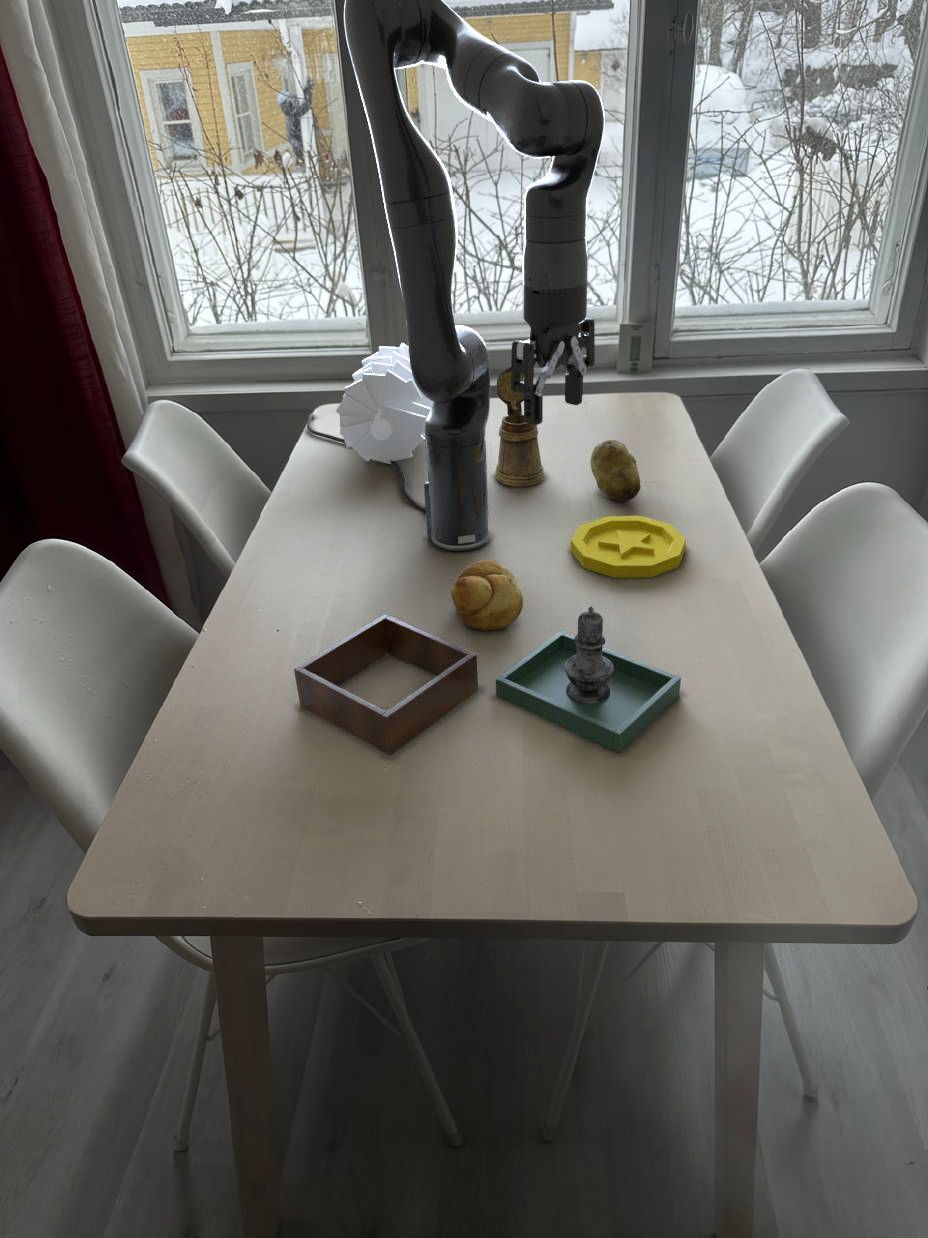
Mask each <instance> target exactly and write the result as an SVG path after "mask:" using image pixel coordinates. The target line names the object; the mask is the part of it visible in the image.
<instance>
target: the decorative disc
mask: <svg viewBox="0 0 928 1238" xmlns="http://www.w3.org/2000/svg"><path fill="white" fill-rule="evenodd" d="M686 545H687V538H686V537H685V536H684V535H682V534H681V532H679V531H678V529H676V528H675V527H674V525H673V524H671V523H668V522H664V521H661V520H657V519H654V518H650V517H647V516H642V515H609V516H607V515H606V516H603V517H601V518H598V519H595V520H592V521H589V522H586V523H584V524H583V523H582V524H580V525H579V527H578V528H577V530H576V532H575V533H574V535H573V536H572V538H571V540H570V552H571V554H572V555H573V557H574V558H575V559H576V560H577V562H578V563H579V564H580V566H581V567H582V568H583V569H587V570H590V571H593V572H596V573H599V574H601V575H604V576H608V577H611V578H614V579H615V578H616V579H617V578H619V579H620V578H631V579H632V578H654V577H655V576H659V575H661V574H664V573H666V572H669V571H671V570H674V569H677V568H679V566H680V565H681V562H682V559H683V557H684V554H685V552H686Z"/></svg>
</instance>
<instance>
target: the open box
mask: <svg viewBox="0 0 928 1238" xmlns="http://www.w3.org/2000/svg"><path fill="white" fill-rule="evenodd" d="M388 654H389V655H391V656H393V657H395V658H398V659H399V660H401V661H404V662H406V663H407V664H408V663H409V664H410V665H413V666H415V667H417V668H420V669H421V670H424V671H426V672H427V673H429V674H431V675H434V676H435V677H434V678H433V679H431V680H430V681H429V682H427V683H426V684H424V685H422V686H421V687H420V688H418V689H417V690H416V691H414V692H413V693H411V694H410V695H409V696H407V697H405V698H404V699H403V700H401V701H399V702H398V703H397V704H396V705H394V706H392V707H391V708H389V709H388V710H387V711H385V710H384V709H382V708H380V707H378V706H377V705H374V704H373V703H370V702H368V701H367V700H364V699H362V698H361V697H359V696H357V695H355V694H353V693H351V692H349V691H347V690H346V689H343V688H342V687H340V685H342V684H344V683H345V682H346V681H348V680H350V679H352V678H353V677H355V676H356V675H358V674H359V673H361V672H363V671H364V670H365V669H367V668H369V667H370V666H372V665H373V664H375V663H377V662H378V661H379V660H382V658H384V657H385V656H387V655H388ZM293 672H294V673H293V674H294V678H295V683H296V690H297V695H298V696H297V697H298V702H299V706H300V707H302V708H303V709H305V710H307V711H309V712H311V713H313V714H315V715H317V716H318V717H320V718H322V719H324V720H325V721H327V722H329V723H331V724H333V725H335V726H336V727H338V728H340V729H341V730H344V731H345V732H347V733H349V734H351V735H353V736H354V737H356V738H358V739H359V740H361V741H363V742H365V743H366V744H369V745H371V746H372V747H374V748H376V749H378V750H379V751H381V752H383V753H385V754H387V755H388V756H390V757H391V756H393V755H394V754H395V753H397V752H398V751H400V750H401V749H402V748H403V747H405V746H406V745H408V744H409V743H410V742H412V741H413V740H414V739H416V738H417V737H418V736H420V735H422V733H424V732H425V731H426V730H428V729H429V728H431V727H432V726H433V725H434V724H436V723H438V722H439V721H440V720H441V719H443V718H444V717H445V716H447V715H448V714H449V713H450V712H452V711H453V710H455V709H456V708H457V707H459V706H461V704H463V703H464V702H465V701H467V700H468V699H469V698H471V697H472V696H473V695H475V694H476V693H477V692H479V673H478V653H476V652H473V651H470V650H468V649H466V648H463V647H461V646H460V645H457V644H455V643H452V642H450V641H447V640H445V639H443V638H441V637H439V636H437V635H434V634H432V633H429V632H427V631H425V630H422V629H421V628H417V627H415V626H414V625H411V624H410V623H409V624H408V623H406V622H404V621H403V620H400V619H398V618H396V617H392V616H390V615H388V614H383V615H380V616H379V617H377V618H376V619H375V620H373V621H371V622H370V623H368V624H366V625H365V626H363V627H361V628H360V629H358V630H356V631H355V632H352V633H351V634H350V635H348V636H346V637H345V638H343V639H341V640H339V641H338V642H337V643H334V644H333V645H332V646H330V647H328V648H326V649H324V650H322V651H321V652H320V653H318V654H316V655H314V656H313V657H311V658H309V659H308V660H306V661H305V662H303V663H301V664H300V665H298V666H296V667H295V668H293Z"/></svg>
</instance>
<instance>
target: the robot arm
mask: <svg viewBox="0 0 928 1238" xmlns="http://www.w3.org/2000/svg"><path fill="white" fill-rule="evenodd" d="M343 8H344V9H343V25H344V32H345V39H346V43H347V48H348V52H349V55H350V56H349V57H350V59H351V64H352V67H353V71H354V75H355V79H356V82H357V85H358V89H359V93H360V97H361V100H362V103H363V107H364V112H365V114H366V118H367V122H368V127H369V130H370V134H371V139H372V145H373V149H374V154H375V158H376V159H375V160H376V164H377V169H378V174H379V175H378V176H379V179H380V185H381V186H380V187H381V192H382V199H383V203H384V210H385V214H386V215H385V216H386V220H387V224H388V230H389V235H390V238H391V243H392V248H393V251H394V257H395V258H394V259H395V263H396V268H397V273H398V274H397V275H398V279H399V285H400V290H401V296H402V301H403V306H404V307H403V308H404V316H405V324H406V325H405V326H406V335H407V344H408V345H407V346H408V348H409V359H410V366H411V371H412V375H413V378H414V381H415V383H416V385H417V387H418V389H419V390H420V391H421V393H422V394H423V395H424V396H425V397H426V398H428V399H429V400H431V401H433V406H432V409H431V411H430V413H429V415H428V417H427V419H426V422H425V433H424V438H425V440H424V441H425V455H426V468H427V481H426V482H424V484H423V492H424V493H423V494H424V506H423V505H421V504H419V503H418V502H417V501H416V500H415V499H414V498H413V497H412V496H411V495H410V493H409V492H408V481H407V477H406V475H405V472H404V470H403V469H402V467H401V465H399V463H398V462H397V461H392V460H391V461H390V462H391V463H392V464H391V465H393V467H394V468H395V469H396V470H397V472H398V473H399V475H400V477H401V480H402V492H403V496H404V498H405V499H406V500H407V501H408V503H410V504H411V505H412V506H413V507H415V508H416V509H418V510H420V511H422V512H424V513H425V520H426V521H425V523H426V536H427V539H430V540H431V542H432V544H433V545H434V546H436V547H437V548H439V549H442V550H444V551H449V552H466V551H467V552H468V551H472V550H476V549H478V548H481V547H483V546H485V545H486V544H487V543H488V542H489V540H490V537H491V536H490V529H489V528H490V527H489V495H488V492H489V491H488V464H487V461H488V460H487V440H486V439H487V436H486V433H487V432H486V429H487V423H488V420H489V416H490V412H491V411H490V410H491V361H490V355H489V351H488V348H487V345H486V342H485V341H484V340H483V338H482V337H481V335H480V334H479V333H478V332H477V331H476V330H474V329H473V328H470V327H469V326H465V325H456V321H455V316H454V310H453V302H452V301H453V300H452V291H453V289H452V287H453V278H454V271H455V265H456V264H455V263H456V256H457V248H458V247H457V246H458V222H457V221H458V219H457V213H456V207H455V201H454V195H453V189H452V188H453V187H452V183H451V179H450V176H449V174H448V172H447V169H446V168H445V165H444V164H443V162H442V161H441V159H440V158H439V156H438V155H437V154H436V152H435V151H434V149H433V148H432V147H431V145H430V144H429V142H428V141H427V140H426V139H425V138H424V136H423V135H422V134H421V132H420V131H419V130H418V128H417V127H416V125H415V124H414V122H413V121H412V119H411V117H410V115H409V113H408V111H407V109H406V107H405V103H404V100H403V97H402V94H401V90H400V87H399V83H398V79H397V75H396V70H398V69H404V68H411V67H412V68H413V67H415V66H418V65H420V64H427V65H433V66H435V67H439V68H442V69H444V70H445V71H446V75H447V81H448V83H449V86H450V88H451V90H452V91H453V94H454V95H455V96H456V98H458V100H459V101H460V102H461V103H463V104H464V105H465V106H466V107H468V108H469V109H471V110H472V111H474V112H475V113H477V114H479V115H480V116H482V117H483V118H485V119H487V120H488V121H490V122H492V123H493V124H494V125H495V127H496V129H497V131H498V132H499V133H500V134H501V136H502V137H503V138H504V139H505V141H506V143H507V144H508V145H509V146H510V147H511V148H512V149H513V150H514V151H516V152H517V153H519V154H521V155H523V156H526V157H529V158H534V159H544V158H552V161H551V163H550V167H549V170H548V173H547V174H546V175H545V176H544V177H543V178H541V179H539V180H537V181H535V182H533V183H531V184H530V185H529V186H528V187H527V189H526V191H525V194H524V210H523V211H524V214H523V217H524V222H523V223H524V245H523V253H522V317H523V320H524V322H525V323H527V325H528V326H529V328H530V331H529V336H528V339H527V340H523V341H522V340H514V341H512V344H511V359H510V360H511V361H510V362H511V366H510V367H511V390H512V391H514V392H519V393H523V395H524V401H523V415H524V418H525V421H526V422H527V423H530V424H534V425H537V426H539V425H541V424H542V423H543V413H544V412H543V410H544V409H543V407H544V404H543V403H544V402H543V400H544V399H543V398H544V394H542V392H543V390H544V387H545V385H546V382H547V381H548V380H549V379H551V378H552V377H553V373H554V372H555V370H556V369H558V368H559V367H560V366H562V367H563V368H564V370H565V372H566V374H564V402H565V403H566V404H569V405H572V406H579V405H581V404H582V402H583V395H584V390H583V389H584V376H585V375H586V373H587V369H588V367H590V368H591V367H593V366H594V365H595V362H596V361H595V360H596V353H595V352H596V348H595V347H596V344H595V343H596V342H595V339H596V337H595V334H596V332H595V328H596V327H595V324H596V323H595V322H596V321H595V320H594V318H588V317H587V307H588V269H589V256H588V246H587V222H588V221H587V219H588V218H587V217H588V216H587V215H588V196H589V193H590V189H591V186H592V183H593V179H594V174H595V170H596V167H597V163H598V159H599V156H600V151H601V147H602V143H603V138H604V134H605V133H604V132H605V111H604V106H603V102H602V99H601V96H600V94H599V93H598V90H597V89H596V88H595V86H594V85H592V84H591V83H589V82H588V81H585V80H579V79H575V80H564V81H550V82H541V79H540V76H539V73H538V71H537V70H536V69H535V68H534V66H533V65H532V64H531V63H530V62H528V61H527V60H526V59H524V58H523V57H521V56H519V55H518V54H516V53H514V52H512V51H510V50H508V49H506V48H505V47H503V46H501V45H499V44H497V43H496V42H494V41H492V40H490V39H489V38H487V37H485V36H484V35H482V34H481V33H480V32H478V31H477V30H476V29H475V28H473V27H472V26H471V25H469V24H468V23H467V22H466V21H465V20H464V19H463V18H462V17H461V16H460V15H459V14H458V13H457V12H456V11H455V10H453V9H452V8H451V7H450V6H449V5H448V3H446V2H445V1H444V0H344V5H343ZM583 348H584V349H585V351H586V353H585V354H586V355H585V354H583V350H582V349H583ZM536 364H537V365H538V366H539V367H537V366H536ZM520 373H522V374H524V378H523V381H522V382H520ZM535 377H537V378H536V381H535V384H534V378H535ZM314 419H315V414H314V413H310V414H309V415H308V418H307V421H306V427H307V430H308V432H310V433H311V434H313V435H315V436H318V437H322V438H325V439H329V440H332V441H336V442H339V443H342V444H346V443H345V441H344V438H343V437H342V438H341V437H338V436H335V435H331V434H329V433H324V432H321V431H317V430H315V429H313V428H312V420H314Z"/></svg>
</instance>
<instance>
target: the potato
mask: <svg viewBox="0 0 928 1238" xmlns="http://www.w3.org/2000/svg"><path fill="white" fill-rule="evenodd" d="M589 463H590V471H591V473H592V475H593V477H594V479H595V481H596V485H597V488H598V490H599V491H600V492H601V493H602V494H603V495H604V496H606V497H608V498H610V499H611V500H615V501H621V502H627V501H632V500H633V499H635V498H636V497H637V496H638V494H639V492H640V491H641V487H642V485H641V478H640V477H641V476H640V473H639V470H638V466H637V465H638V464H637V460H636V459H635V457H634V455H633V454H631V453H630V452H629V449H628V448H627V446H626V444H625V443H623V442H621V441H618V440H615V439H607V440H605V441H603V442H600V443H598V444H596V445H595V446H594V448H593V450H592V452H591V456H590V462H589Z"/></svg>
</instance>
